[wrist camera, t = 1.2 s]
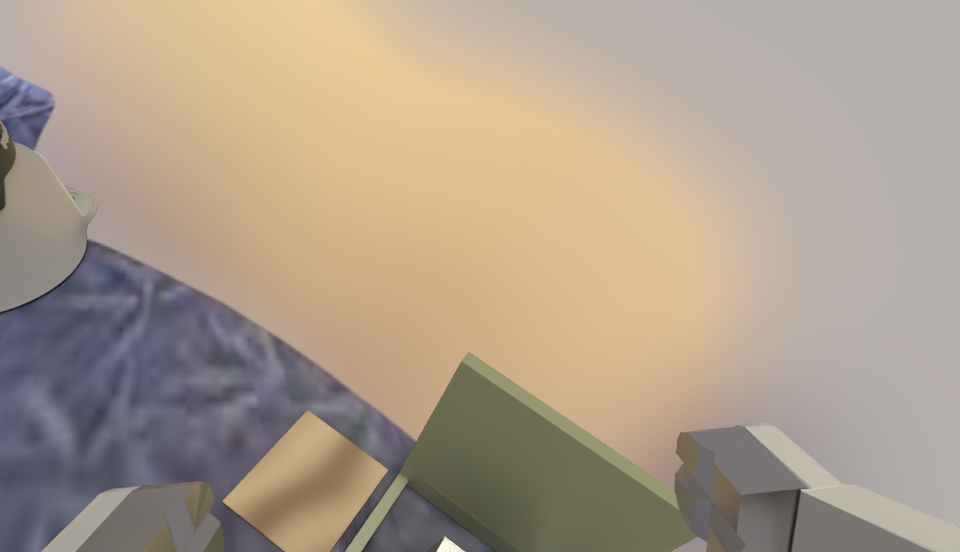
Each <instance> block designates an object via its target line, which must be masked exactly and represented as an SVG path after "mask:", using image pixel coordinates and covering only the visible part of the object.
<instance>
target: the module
mask: <svg viewBox="0 0 960 552" xmlns="http://www.w3.org/2000/svg"><path fill="white" fill-rule="evenodd" d="M427 552H465V551H463V550H462V549H461V548H459V547H458V546H457V545H455V544H454V543H453V542H451V541H450V540H449V539H447V538H446V537H444V538H443V539H442V540H440V541H439V542H438V543H437V544H435V545H434V546H433V547H432V548H430V549H429V550H428V551H427Z"/></svg>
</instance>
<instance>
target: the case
mask: <svg viewBox="0 0 960 552" xmlns="http://www.w3.org/2000/svg"><path fill="white" fill-rule="evenodd" d="M406 485H407V486H409V487H410V488H411V489H413V490H414V491H415V492H417V493H418V494H419V495H421V496H422V497H423V498H425V499H426V500H428V501H429V502H430V503H432V504H433V505H434V506H436V507H437V508H438V509H440V510H441V511H442V512H444V513H445V514H446V515H448V516H449V517H450V518H452V519H453V520H454V521H456V522H457V523H458V524H460V525H461V526H463V527H464V528H465V529H467V530H468V531H469V532H471V533H472V534H473V535H475V536H476V537H477V538H479V539H480V540H481V541H483V542H484V543H485V544H487V545H488V546H489V547H491V548H492V549H494V550H495V551H496V552H671V551H673V550H675V549H676V548H678V547H680V546H682V545H684V544H686V543H687V542H689V541H691V540H693V539H694V538H696V537H698V536H696V535H695V534H693V533H692V532H691V531H690V529H689V528H688V526H687V524H686V523H685V521H684V519H683V517H682V515H681V512H680V510H679V507H678V503H677V499H676V494H675V491H673V490H672V489H670V488H669V487H668V486H666V485H665V484H663V483H662V482H660V481H659V480H657V479H656V478H654V477H653V476H651V475H650V474H648V473H647V472H645V471H643V470H642V469H641V468H639V467H638V466H636V465H635V464H634V463H632V462H631V461H629V460H628V459H626V458H624V457H623V456H622V455H620V454H619V453H617V452H616V451H614V450H613V449H611V448H610V447H608V446H607V445H606V444H604V443H602V442H601V441H600V440H598V439H596V438H595V437H594V436H592V435H590V434H589V433H588V432H586V431H585V430H583V429H582V428H580V427H579V426H577V425H576V424H575V423H573V422H572V421H570V420H569V419H567V418H566V417H564V416H563V415H561V414H560V413H558V412H557V411H555V410H554V409H552V408H551V407H549V406H548V405H546V404H545V403H544V402H542V401H540V400H539V399H538V398H536V397H535V396H533V395H532V394H530V393H529V392H527V391H526V390H524V389H523V388H521V387H520V386H518V385H517V384H516V383H514V382H513V381H511V380H510V379H508V378H507V377H505V376H504V375H502V374H501V373H499V372H498V371H496V370H495V369H493V368H492V367H490V366H489V365H487V364H486V363H484V362H483V361H482V360H480V359H478V358H477V357H476V356H474V355H473V354H471V353H469V352H468V353H467V355H466V356H465V357H464V359H463V360H462V361H461V363H460V365H459V367H458V368H457V370H456V372H455V374H454V375H453V378H452V379H451V381H450V383H449V385H448V386H447V388H446V390H445V392H444V394H443V395H442V397H441V399H440V401H439V402H438V404H437V406H436V408H435V409H434V411H433V413H432V415H431V417H430V418H429V420H428V422H427V424H426V425H425V427H424V429H423V431H422V432H421V434H420V436H419V438H418V440H417V441H416V443H415V445H414V447H413V448H412V450H411V452H410V454H409V456H408V457H407V459H406V461H405V463H404V465H403V467H402V469H401V471H400V473H399V474H398V476H397V477H396V479H395V480H394V482H393V483H392V485H391V486H390V487H389V489H388V490H387V492H386V493H385V495H384V496H383V498H382V499H381V500H380V502H379V503H378V505H377V506H376V508H375V509H374V511H373V512H372V513H371V515H370V516H369V518H368V519H367V521H366V522H365V524H364V525H363V526H362V528H361V529H360V531H359V532H358V534H357V535H356V537H355V538H354V539H353V541H352V542H351V544H350V545H349V547H348V548H347V550H346V551H345V552H362V550H363V549H364V547H365V546H366V544H367V543H368V541H369V540H370V538H371V537H372V535H373V534H374V532H375V531H376V529H377V528H378V526H379V525H380V523H381V522H382V520H383V519H384V517H385V516H386V514H387V513H388V511H389V510H390V509H391V507H392V506H393V504H394V503H395V501H396V500H397V498H398V497H399V495H400V494H401V492H402V491H403V489H404V488H405V486H406Z"/></svg>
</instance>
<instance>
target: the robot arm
mask: <svg viewBox="0 0 960 552" xmlns="http://www.w3.org/2000/svg"><path fill="white" fill-rule="evenodd" d="M96 211H97V205H96V203H95V202H94V201H93V199H92V198H91V197H89V196H87V195H85V194H83V193H81V192H79V191H76V190H74V189H72V188H70V187H68V186H65V185H64V184H63V183H62V181H61V180H60V178H59V177H58V175H57V174H56V173H55V171H54V169H53V168H52V166H51V165H50V164H49V162H48V161H47V159H46V158H45V157H44V155H43V154H42V153H41V152H39V151H37V150H32V149H30V148H28V147H27V146H25V145H22V144H20V143H17V142H14V141H12V140H11V138H10V137H9V135H8V134H7V130H6V128H5V126H4V125H3V123H2V122H1V120H0V312H2V311H5V310H8V309H11V308H14V307H17V306H20V305H22V304H25V303H27V302H29V301H31V300H33V299H36V298H37V297H39V296H41V295H43V294H45V293H46V292H48V291H50V290H51V289H53V288H54V287H56V286H57V285H58V284H60V283H61V282H62V281H63V280H65V279H66V278H67V277H68V276H69V275H70V274H71V273H72V272H73V271H74V269H75V268H76V267H77V266H78V264H79V263H80V261H81V259H82V257H83V255H84V253H85V250H86V245H87V226H88V224H89V223H90V221H91V220H92V218H93V217H94V215H95V213H96ZM676 453H677V454H678V455H679V457H680V458H681V459H682V461H683V462H684V463H683V465H682V466H681V467H680V468H679V470H678V471H677V472H676V473H675V494H676V499H677V503H678V507H679V510H680V512H681V515H682V517H683V519H684V521H685V523H686V524H687V526H688V528H689V529H690V531H691V532H692V533H693V534H695V535H696V536H698V537H700V538H701V539H703V540H704V541H706V542H707V548H706V552H960V527H957V526H955V525H952V524H949V523H947V522H945V521H942V520H940V519H937V518H935V517H933V516H930V515H928V514H925V513H923V512H920V511H918V510H915V509H913V508H911V507H908V506H906V505H903V504H901V503H898V502H896V501H893V500H891V499H888V498H886V497H883V496H881V495H879V494H876V493H874V492H871V491H869V490H866V489H864V488H862V487H859V486H857V485H854V484H850V485H843V484H842V483H841V482H839V481H838V480H837V479H836V478H835V477H833V475H831V474H830V473H829V472H828V471H827V470H825V469H824V468H823V467H822V466H820V464H818V463H817V462H816V461H815V460H814V459H813V458H811V457H810V456H809V455H808V454H806V453H805V452H804V451H803V450H802V449H801V448H800V447H798V446H797V445H796V444H795V443H793V442H792V441H791V440H790V439H789V438H788V437H787V436H785V435H784V434H783V433H782V432H781V431H780V430H778V429H777V428H776V427H775V426H774V425H772V424H769V423H766V422H759V423H752V424H744V425H737V426H736V427H728V428H718V429H709V430H699V431H690V432H681V433H680V435H679V437H678V440H677V450H676ZM214 502H215V500H214V497H213V494H212V491H211V488H210V485H209V484H207V483H205V482H202V481H197V482H184V483H172V484H159V485H146V486H141V487H126V488H116V489H110V490H108V491H105V492H103V493H100V494H99V495H98V496H97V497H96V498H95V499H94V500H93V501H92V502H91V503H90V504H89V505H88V506H87V507H86V508H85V509H84V510H83V511H82V512H81V513H80V514H79V515H78V516H77V517H76V518H75V519H74V520H73V521H72V522H71V523H70V524H69V525H68V526H67V527H66V528H65V529H64V530H63V531H62V532H61V533H60V534H58V535H57V536H56V537H55V538H54V539H53V540H52V541H51V542H50V543H49V544H48V545H47V546H46V547H45V548H44V549H43V550H42V551H41V552H224V532H223V528H222V524H221V522H220V521H219V520H217V519H216V518H215V517H214V516H212V515H211V514H210V513H209V511H210V509H211V507H212V505H213V503H214Z"/></svg>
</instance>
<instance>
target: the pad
mask: <svg viewBox="0 0 960 552" xmlns="http://www.w3.org/2000/svg"><path fill="white" fill-rule="evenodd" d="M387 472H388V469H387V468H385V467H384V466H383V465H381V464H380V463H379V462H377V461H376V460H374V459H373V458H372V457H370V456H369V455H368V454H366V453H365V452H364V451H362V450H361V449H360V448H358V447H357V446H356V445H354V444H353V443H352V442H350V441H349V440H348V439H346V438H345V437H343V436H342V435H341V434H339V433H338V432H337V431H335V430H334V429H333V428H331V427H330V426H329V425H327V424H326V423H325V422H323V421H322V420H321V419H319V418H318V417H317V416H315V415H314V414H312V413H311V412H310V411H308V410H307V411H306V412H305V413H304V414H303V416H302V417H301V418H300V419H299V420H298V421H297V422H296V423H295V424H294V425H293V426H292V427H291V428H290V429H289V430H288V432H287V433H286V434H285V435H284V436H283V437H282V438H281V439H280V440H279V441H278V442H277V443H276V444H275V445H274V447H273V448H272V449H271V450H270V451H269V452H268V453H267V454H266V455H265V456H264V457H263V458H262V459H261V460H260V462H259V463H258V464H257V465H256V466H255V467H254V468H253V469H252V470H251V471H250V472H249V473H248V474H247V475H246V477H245V478H244V479H243V480H242V481H241V482H240V483H239V484H238V485H237V486H236V487H235V488H234V489H233V490H232V491H231V493H230V494H229V495H228V496H227V497H226V498H225V499H224V500H223V501H222V502H223V503H224V504H226V505H227V506H228V507H229V508H231V509H232V510H233V511H234V512H236V513H237V514H238V515H239V516H241V517H242V518H243V519H244V520H246V521H247V522H248V523H249V524H251V525H252V526H253V527H254V528H256V529H257V530H258V531H259V532H261V533H262V534H263V535H264V536H266V537H267V538H268V539H269V540H271V541H272V542H273V543H274V544H275V545H277V546H278V547H279V548H280V549H282V550H283V551H284V552H331V550H332V549H333V547H334V546H335V545H336V543H337V542H338V540H339V539H340V538H341V536H342V535H343V533H344V532H345V531H346V529H347V528H348V526H349V525H350V524H351V522H352V521H353V519H354V518H355V516H356V515H357V514H358V512H359V511H360V509H361V508H362V507H363V505H364V504H365V502H366V501H367V500H368V498H369V497H370V495H371V494H372V493H373V491H374V490H375V488H376V487H377V486H378V484H379V483H380V481H381V480H382V479H383V477H384V476H385V474H386V473H387Z"/></svg>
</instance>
